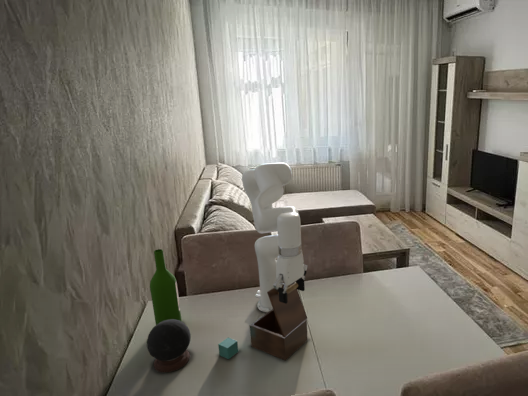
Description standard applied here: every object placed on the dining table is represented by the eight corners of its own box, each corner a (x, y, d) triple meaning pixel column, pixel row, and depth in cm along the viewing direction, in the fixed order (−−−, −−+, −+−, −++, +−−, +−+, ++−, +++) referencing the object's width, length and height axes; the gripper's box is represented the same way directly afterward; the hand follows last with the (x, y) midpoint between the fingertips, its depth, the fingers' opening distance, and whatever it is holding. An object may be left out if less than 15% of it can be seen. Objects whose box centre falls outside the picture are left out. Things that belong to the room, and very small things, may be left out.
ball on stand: (147, 358, 132) (141, 320, 128) (188, 343, 140) (183, 307, 136) (154, 380, 122) (147, 340, 118) (197, 363, 129) (192, 325, 125)
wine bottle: (186, 327, 149) (175, 250, 140) (162, 337, 143) (149, 257, 134) (176, 318, 155) (166, 243, 146) (153, 327, 149) (140, 250, 140)
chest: (251, 346, 138) (249, 325, 136) (274, 328, 149) (273, 308, 147) (285, 360, 131) (284, 338, 129) (307, 340, 142) (306, 319, 140)
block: (219, 355, 134) (218, 344, 132) (229, 347, 138) (228, 337, 136) (228, 359, 132) (227, 348, 130) (238, 351, 135) (237, 340, 134)
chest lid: (266, 292, 128) (278, 290, 125) (291, 276, 138) (302, 274, 136) (283, 337, 129) (294, 336, 126) (305, 318, 140) (317, 317, 137)
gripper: (297, 239, 136) (298, 282, 141) (263, 256, 121) (266, 305, 126) (314, 243, 133) (315, 287, 137) (281, 261, 118) (284, 311, 122)
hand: (292, 295), depth 131 cm, fingers open, 8 cm apart
